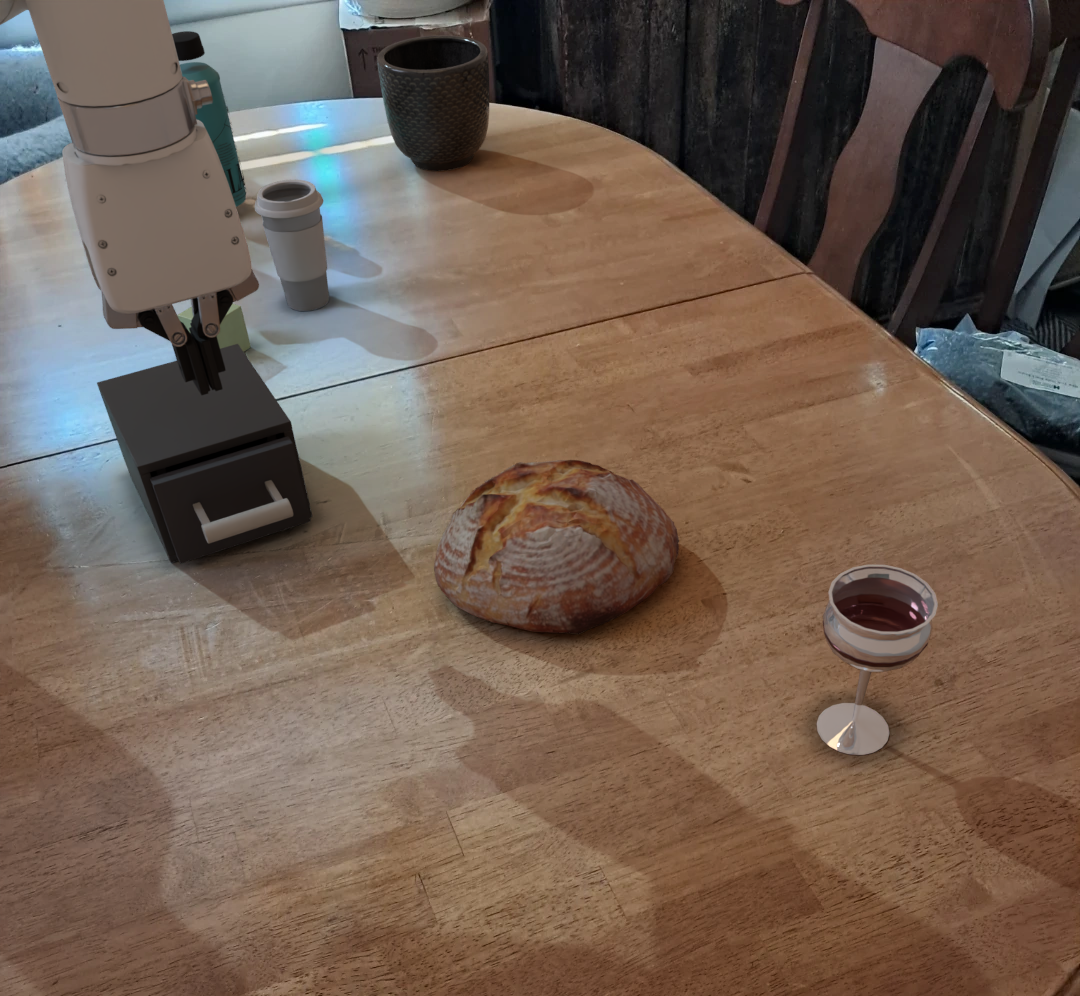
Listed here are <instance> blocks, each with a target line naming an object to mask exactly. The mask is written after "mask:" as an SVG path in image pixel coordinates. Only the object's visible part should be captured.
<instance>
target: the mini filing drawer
mask: <svg viewBox="0 0 1080 996" xmlns="http://www.w3.org/2000/svg"><path fill="white" fill-rule="evenodd" d="M150 474H151V477H152V478H150V480H151V483H152V486H153V489H154V492H155V495H156V498H157V501H158V504H159V506H160V509H161V512H162V515H163V518H164V521H165V524H166V527H167V530H168V532H169V535H170V538H171V541H172V544H173V547H174V550H175V553H176V556H177V558H178V560H179V561H178V563H179V564H184V563H188V562H191V561H194V560H197V559H199V558H203V557H206V556H208V555H212V554H215V553H218V552H220V551H224V550H227V549H230V548H233V547H236V546H240V545H243V544H245V543H248V542H252V541H255V540H258V539H260V538H263V537H267V536H270V535H273V534H276V533H279V532H282V531H285V530H288V529H291V528H295V527H298V526H300V525H303V524H306V523H309V522H311V518H310V516H309V512H308V507H307V503H306V499H305V494H304V490H303V486H302V481H301V477H300V473H299V468H298V464H297V460H296V455H295V451H294V447H293V443H292V441H291V440H290V438H289V437H288V436H287V437H284V438H280V439H276V435H272V436H269V437H266V438H262V439H259V440H256V441H252V442H249V443H246V444H242V445H239V446H236V447H233V448H229V449H226V450H223V451H219V452H216V453H213V454H209V455H206V456H203V457H199V458H196V459H193V460H189V461H186V462H183V463H179V464H176V465H173V466H170V467H166V468H163V469H160V470H156V471H153V472H150Z"/></svg>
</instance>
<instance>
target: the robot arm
mask: <svg viewBox="0 0 1080 996" xmlns="http://www.w3.org/2000/svg"><path fill="white" fill-rule="evenodd" d="M26 11H29V15H30V19H31V22H32V25H33V27H34V30H35V33H36V37H37V39H38V43H39V45H40V49H41V51H42V54H43V57H44V60H45V63H46V67H47V69H48V73H49V75H50V78H51V81H52V85H53V88H54V90H55V93H56V98H57V100H58V103H59V106H60V109H61V113H62V115H63V119H64V122H65V125H66V128H67V131H68V133H69V137H70V141H71V142H69V143H68V144H66V145H65V146H64V147H63V148H62V151H61V153H62V162H63V169H64V170H63V171H64V175H65V180H66V181H65V182H66V185H67V186H66V187H67V190H68V194H69V198H70V199H69V200H70V204H71V209H72V211H73V215H74V219H75V222H76V226H77V229H78V233H79V237H80V241H81V243H82V247H83V250H84V253H85V256H86V260H87V263H88V266H89V268H90V272H91V275H92V277H93V280H94V282H95V284H96V286H97V288H98V290H100V292H101V303H102V315H103V319H104V320H105V322H106V324H107V326H108V327H109V328H110V329H112V330H126V329H128V330H129V329H131V330H132V329H138V328H143V329H146V330H147V331H149V332H151V333H153V334H155V335H157V336H159V337H160V338H163V339H164V340H166V341H169V342H170V344H171V346H172V349H173V353H174V356H175V360H176V361H177V363H178V366H179V369H180V372H181V375H182V377H183V379H184V381H185V382H188V381H193V382H194V384H195V386H196V387H197V389H198V391H199V392H200V394H201V395H205V394H208V391H210V387H211V389H212V390H215V391H219V390H222V389H223V388H222V384H221V381H220V377H219V373H220V372H223V371H226V369H225V365H224V361H223V358H222V354H221V350H220V347H219V343H218V339H217V335H218V334H219V332H220V324H221V322H222V321H223V319H224V317H225V316H226V314H227V312H228V310H229V309H230V307H231V305H232V304H234V302H236V301H237V302H238V301H239V302H240V300H242V299H244V298H246V297H249V296H250V295H252V294H253V293H255V292H257V291H258V290H259V287H260V283H259V279H258V277H257V276H256V274H255V272H254V271H253V269H252V266H253V265H252V258H251V253H250V249H249V245H248V242H247V238H246V234H245V232H244V227H243V225H242V222H241V221H242V220H241V219H240V215H239V212H238V209H237V207H236V205H235V202H234V199H233V196H232V193H231V190H230V187H229V184H228V181H227V178H226V176H225V173H224V170H223V168H222V165H221V162H220V160H219V157H218V155H217V152H216V150H215V148H214V145H213V143H212V141H211V139H210V136H209V134H208V132H207V130H206V128H205V126H204V124H203V123H202V122H201V121H199V120H197V119H196V117H195V115H197V109H199V108H202V106H203V105H207V104H212V103H213V99H212V94H211V90H210V87H209V85H208V83H207V81H206V80H202V81H198V82H195V81H194V80H190V81H189V80H188V79H187V78H186V77H183V76H182V72H181V68H180V61H179V60H178V56H177V52H176V48H175V44H174V40H173V36H172V34H173V33H172V29H171V25H170V20H169V16H168V12H167V9H166V4H165V1H164V0H0V26H2V25H4V24H5V23H7V22H9V21H10V20H12V19H13V18H15V17H17V16H19V15H20V14H22V13H24V12H26ZM189 300H190V306H191V307H192V313H193V318H192V320H191V322H192V323H190V324H191V327H190V328H189V330H190V332H189V331H188V329H187V328H186V326H185V325H184V323H183V322H181V321H180V320H179V318H178V316H177V315H178V314H177V311H176V309H175V308H174V305H173V304H177V303H181V302H186V301H189ZM209 386H210V387H209Z"/></svg>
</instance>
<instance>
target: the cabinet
mask: <svg viewBox="0 0 1080 996" xmlns="http://www.w3.org/2000/svg"><path fill="white" fill-rule="evenodd" d="M220 350H221V354H222V358H223V361H224V365H225V369H226V371H223V372H220V373H219V377H220V381H221V384H222V388H223V389H222V390H219V391H215V390H212V389H211V387H210V386H209V387H210V391H208V394H205V395H201V394H200V392H199V391H198V389H197V387H196V386H195V384H194V382H193V381H188V382H185V381H184V379H183V377H182V375H181V372H180V369H179V366H178V363H177V360H174V361H170V362H166V363H163V364H159V365H156V366H152V367H147V368H145V369H141V370H137V371H134V372H130V373H126V374H123V375H120V376H116V377H112V378H109V379H105V380H100V381H97V382H96V385H97V388H98V391H99V394H100V396H101V399H102V402H103V405H104V406H105V410H106V413H107V416H108V419H109V421H110V424H111V427H112V429H113V432H114V435H115V438H116V440H117V443H118V446H119V449H120V452H121V455H122V457H123V461H124V462H125V463H124V464H125V466H126V468H127V471H128V474H129V477H130V479H131V481H132V483H133V485H134V487H135V490H136V492H137V495H138V496H139V498H140V501H141V503H142V505H143V506H144V509H145V511H146V513H147V516H148V518H149V520H150V521H151V524H152V526H153V528H154V530H155V533H156V535H157V538H158V539H159V541H160V543H161V546H162V547H163V550H164V551H165V554H166V556H167V558H168V560H169V562H170V563H171V564H173V563H177V562H179V560H178V558H177V556H176V553H175V550H174V547H173V544H172V541H171V538H170V535H169V532H168V530H167V527H166V524H165V521H164V518H163V515H162V512H161V509H160V506H159V504H158V501H157V498H156V495H155V492H154V489H153V486H152V483H151V480H150V478H152V477H151V474H150V472H153V471H156V470H160V469H163V468H166V467H170V466H173V465H176V464H179V463H183V462H186V461H189V460H193V459H196V458H199V457H203V456H206V455H209V454H213V453H216V452H219V451H223V450H226V449H229V448H233V447H236V446H239V445H242V444H246V443H249V442H252V441H256V440H259V439H262V438H266V437H269V436H272V435H276V439H280V438H284V437H287V436H288V437H289V438H290V440H291V441H292V443H293V447H294V451H295V455H296V460H297V464H298V468H299V473H300V477H301V481H302V486H303V490H304V494H305V499H306V503H307V507H308V512H309V516H310V519H311V518H313V513H312V509H311V508H312V507H311V503H310V499H309V495H308V491H307V487H306V482H305V477H304V473H303V469H302V464H301V459H300V456H299V452H298V447H297V442H296V438H295V434H294V430H293V425H292V421H291V420H290V417H288V415H287V413H286V412H285V410H284V409H283V408H282V406H281V405H280V403H279V402H278V400H277V399H276V398H275V396H274V395H273V392H271V390H270V389H269V387H268V385H267V384H266V382H264V380H263V378H262V377H261V375H260V374H259V372H258V370H257V369H256V368H255V367H254V365H253V364H252V362H251V360H250V359H249V358H248V355H246V353H245V351H244V352H243V350H242V349H241V348H240V346H239V345H238V344H235V345H231V346H228V347H224V348H221V349H220Z"/></svg>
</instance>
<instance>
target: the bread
mask: <svg viewBox="0 0 1080 996" xmlns="http://www.w3.org/2000/svg"><path fill="white" fill-rule="evenodd" d="M679 543H680V538H679V535H678V529H677V526H676V525H675V521H674V520H673V519H672V518H671V517H670V516H669V515H668V514H667V512H666V511H665V510H664V508H663V507H662V506H661V505H660V504H659V503H658V502H656V500H655V499H654V498H652V497H651V496H650V494H648V492H647V491H646V490H645V489H644V488H643V487H641V486H640V485H639V483H638V482H636V481H635V480H634V479H629V478H627V477H624V476H621V475H618V474H615V473H614V472H613V471H611V470H610V469H607V468H604V467H602V466H601V465H598V464H594V463H591V462H588V461H584V460H579V459H564V460H563V459H556V460H548V461H535V462H534V461H531V462H523V461H517V462H516V463H515V464H513V465H510V466H509V467H507V468H506V469H505V470H503V471H500V473H499V474H497V475H494V476H492V477H491V478H489V479H486V480H484V482H483V483H482V484H480V485H479V486H477V487H476V488H475V489H473V490H471V492H470V493H469V494H468V495H467V497H466V498H465V499H464V500H463V502H462V504H461V505H460V507H459V508H457V509H456V510H455V511H454V512H452V514H451V518H450V520H449V522H448V523H447V526H446V528H445V529H444V531H443V533H442V535H441V537H440V539H439V542H438V545H437V548H436V552H435V556H434V557H435V558H434V562H433V570H434V578H435V582H436V584H437V586H438V588H439V589H440V590H441V592H442V593H443V594H444V595H445V596H446V597H447V598H448V600H449V601H450V602H451V603H452V604H453V605H454V606H455V607H456V608H458V609H460V610H462V611H463V612H466V613H468V614H470V615H472V616H474V617H476V618H478V619H481V620H485V621H488V622H491V623H494V624H500V625H504V626H508V627H512V628H516V629H520V630H525V631H528V632H532V633H534V632H535V633H548V634H549V633H551V634H569V635H581V634H583V633H585V632H587V631H589V630H591V629H593V628H595V627H598V626H600V625H601V626H602V625H603V624H607V623H609V622H611V621H612V620H615V619H617V618H618V617H620V616H622V615H624V614H626V613H627V612H630V610H631V609H633V608H634V607H637V605H640V604H641V603H643V602H644V601H645V600H646V599H647V598H649V597H650V596H651V595H653V594H654V593H655V591H656V590H657V588H658V587H660V586H661V585H664V584H665V583H666V582H667V581H668V580H669V579H670V577H671V576H672V575H673V573H674V571H675V562H676V559H677V558H678V556H679V552H680V551H679V548H680V544H679Z"/></svg>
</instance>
